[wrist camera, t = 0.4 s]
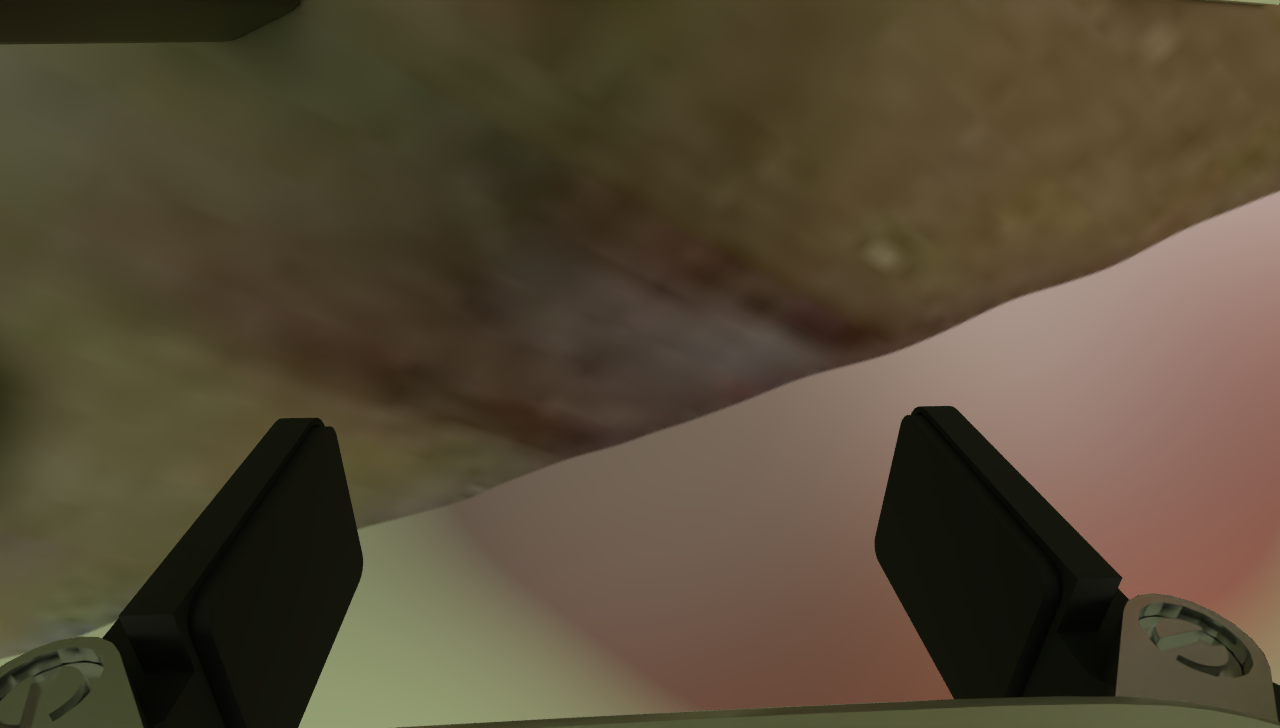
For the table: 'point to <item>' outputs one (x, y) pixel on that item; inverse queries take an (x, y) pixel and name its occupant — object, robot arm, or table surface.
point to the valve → (1250, 2)
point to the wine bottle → (134, 20)
